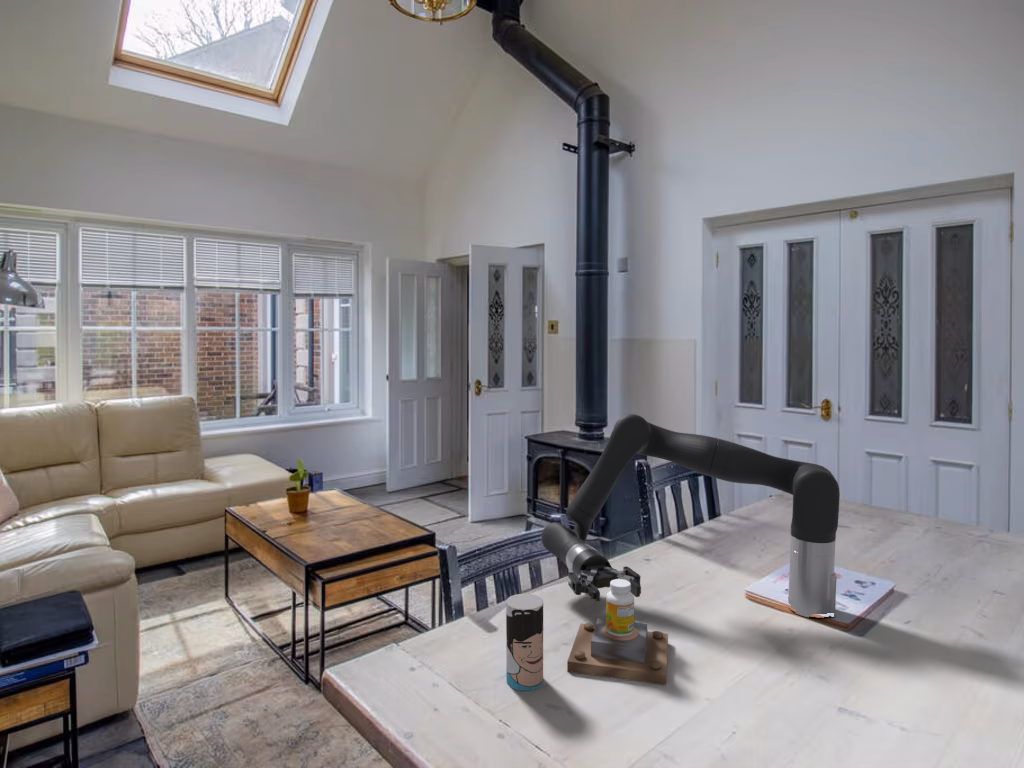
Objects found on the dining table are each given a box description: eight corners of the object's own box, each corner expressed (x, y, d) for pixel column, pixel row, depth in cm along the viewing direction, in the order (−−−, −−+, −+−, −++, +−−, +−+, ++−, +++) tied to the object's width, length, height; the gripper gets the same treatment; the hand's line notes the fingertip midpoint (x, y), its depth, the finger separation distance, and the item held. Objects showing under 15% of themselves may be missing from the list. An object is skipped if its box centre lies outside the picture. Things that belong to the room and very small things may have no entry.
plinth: (667, 643, 130) (668, 618, 130) (665, 685, 115) (666, 657, 114) (580, 632, 135) (580, 608, 134) (567, 671, 119) (567, 644, 119)
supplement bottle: (602, 625, 127) (603, 577, 126) (629, 624, 127) (630, 576, 127) (609, 638, 122) (610, 588, 121) (636, 636, 122) (637, 587, 121)
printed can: (510, 693, 112) (510, 611, 111) (502, 673, 119) (502, 595, 118) (547, 688, 114) (547, 607, 113) (537, 668, 120) (537, 592, 119)
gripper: (557, 551, 138) (584, 579, 122) (617, 545, 142) (652, 572, 126) (556, 585, 139) (584, 617, 123) (617, 578, 142) (651, 608, 127)
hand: (618, 594), depth 125 cm, fingers open, 8 cm apart
